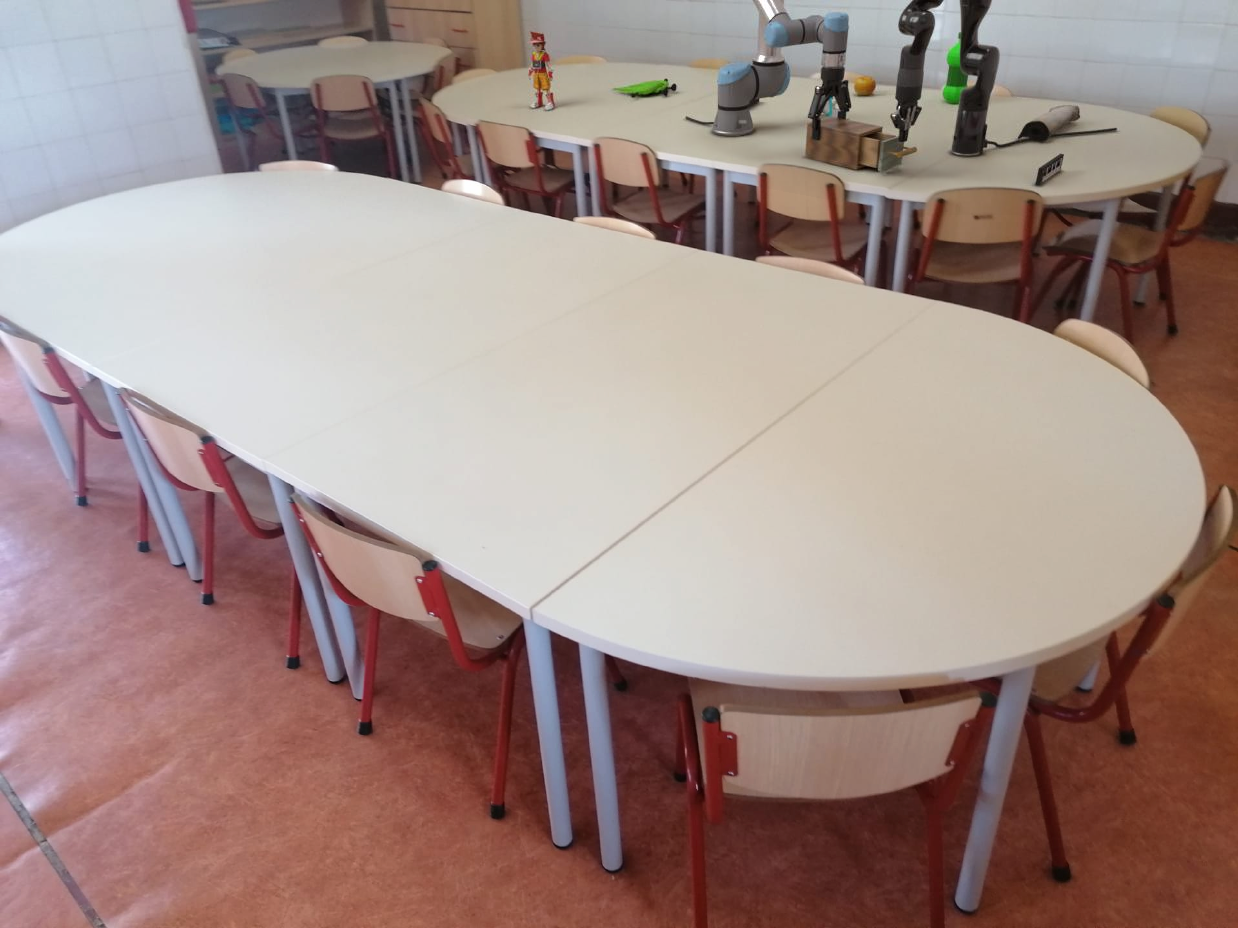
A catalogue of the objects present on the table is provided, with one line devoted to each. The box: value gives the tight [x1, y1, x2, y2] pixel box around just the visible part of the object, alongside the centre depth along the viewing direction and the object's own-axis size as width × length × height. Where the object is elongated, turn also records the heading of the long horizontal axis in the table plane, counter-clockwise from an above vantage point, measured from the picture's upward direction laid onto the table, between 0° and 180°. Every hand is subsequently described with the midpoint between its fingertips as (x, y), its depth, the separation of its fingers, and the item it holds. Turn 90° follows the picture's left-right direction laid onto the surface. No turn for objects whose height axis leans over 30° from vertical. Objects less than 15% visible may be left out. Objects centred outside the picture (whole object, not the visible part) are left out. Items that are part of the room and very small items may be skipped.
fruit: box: [853, 75, 877, 96], centre depth 370 cm, size 8×9×8 cm
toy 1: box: [527, 31, 556, 111], centre depth 374 cm, size 12×9×30 cm
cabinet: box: [804, 116, 883, 171], centre depth 298 cm, size 22×12×11 cm, turn 38°
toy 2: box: [612, 78, 677, 99], centre depth 396 cm, size 28×5×30 cm
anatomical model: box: [822, 97, 851, 120], centre depth 342 cm, size 15×10×10 cm
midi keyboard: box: [1035, 153, 1065, 186], centre depth 273 cm, size 18×1×5 cm, turn 138°
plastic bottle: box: [942, 31, 969, 104], centre depth 348 cm, size 10×10×25 cm
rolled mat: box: [1017, 104, 1081, 143], centre depth 313 cm, size 30×9×10 cm
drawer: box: [859, 131, 918, 172], centre depth 289 cm, size 26×10×9 cm, turn 38°
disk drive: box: [749, 99, 760, 108], centre depth 367 cm, size 10×3×15 cm
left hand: (828, 136), depth 301 cm, fingers closed on cabinet, 12 cm apart
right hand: (902, 141), depth 280 cm, fingers closed
